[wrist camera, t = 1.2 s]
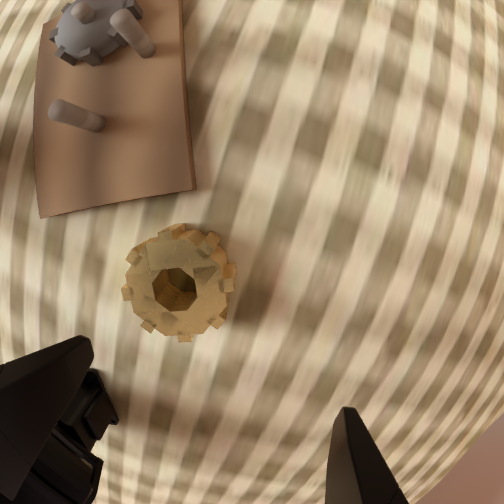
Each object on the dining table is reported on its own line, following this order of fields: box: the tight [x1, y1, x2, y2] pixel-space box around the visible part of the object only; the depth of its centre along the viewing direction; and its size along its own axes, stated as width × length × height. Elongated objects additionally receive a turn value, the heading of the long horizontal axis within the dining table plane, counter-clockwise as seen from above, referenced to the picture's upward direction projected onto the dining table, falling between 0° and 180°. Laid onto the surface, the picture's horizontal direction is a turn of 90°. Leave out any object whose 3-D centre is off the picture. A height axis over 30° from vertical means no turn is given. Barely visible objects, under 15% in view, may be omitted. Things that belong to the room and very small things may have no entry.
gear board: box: [33, 0, 197, 219], centre depth 14 cm, size 12×17×6 cm
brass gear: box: [121, 223, 236, 342], centre depth 19 cm, size 7×7×4 cm
